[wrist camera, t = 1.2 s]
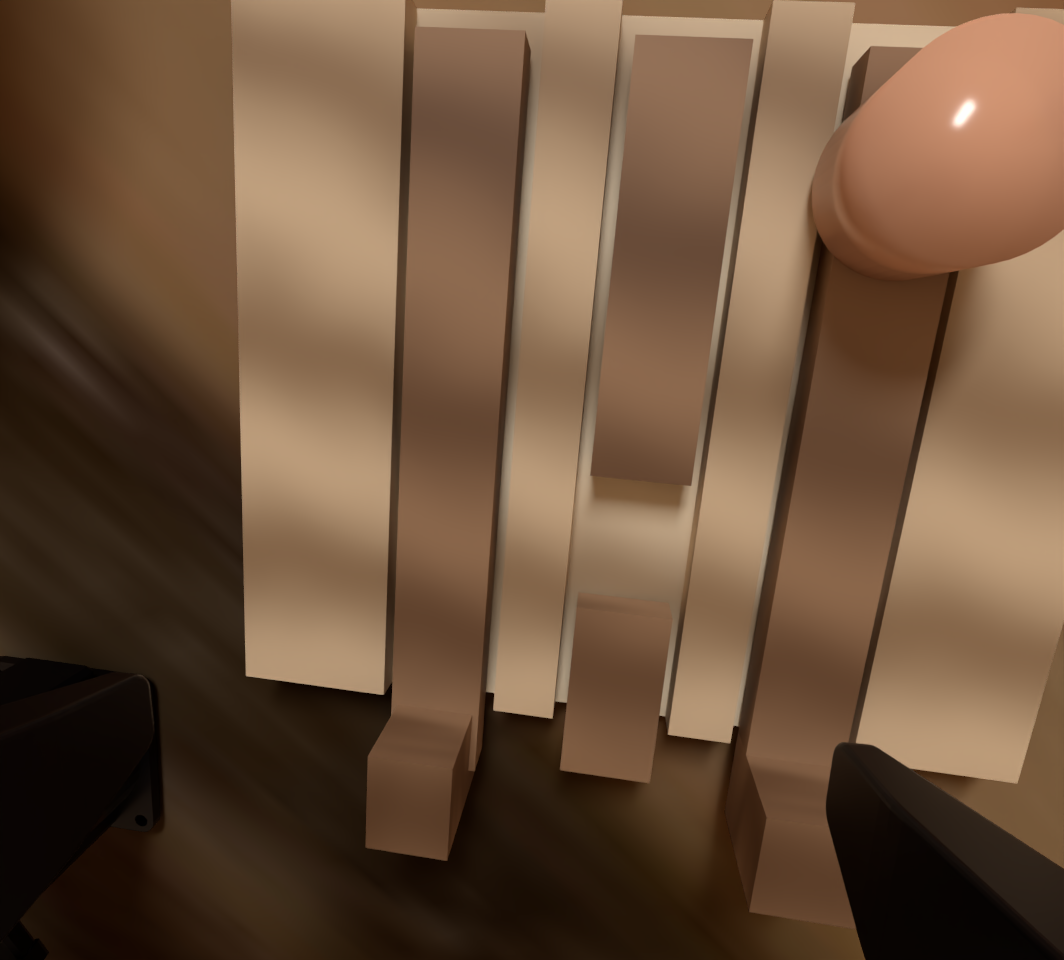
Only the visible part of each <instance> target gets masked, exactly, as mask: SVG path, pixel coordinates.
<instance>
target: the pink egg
mask: <svg viewBox="0 0 1064 960" xmlns="http://www.w3.org/2000/svg"><path fill="white" fill-rule="evenodd" d="M812 210H813V216H814V220H815V224H816V227H817V230H818V232H819V234H820V237H821V239H822V241H823V242H824V244H825V245H826V247H827V248H828V250H829V251H830V252H831V253H832V254H833V256H835V258H836V259H838V260H839V261H840V262H841V263H842V264H843V265H845V266H846V267H848V268H849V269H851V270H853V271H854V272H856V273H859V274H861V275H863V276H866V277H869V278H873V279H877V280H884V281H905V280H913V279H918V278H923V277H928V276H933V275H938V274H943V273H948V272H954V271H959V270H964V269H969V268H974V267H979V266H984V265H989V264H994V263H998V262H1002V261H1006V260H1010V259H1013V258H1016V257H1018V256H1021V255H1024V254H1026V253H1028V252H1030V251H1032V250H1034V249H1036V248H1038V247H1040V246H1041V245H1043V244H1044V243H1046V242H1047V241H1049V240H1051V239H1052V238H1054V237H1055V236H1056V235H1058V234H1059V233H1060V232H1061V231H1062V230H1064V25H1063V24H1061V23H1059V22H1056V21H1054V20H1052V19H1049V18H1045V17H1041V16H1037V15H1031V14H1021V13H1010V14H997V15H992V16H986V17H982V18H979V19H975V20H972V21H969V22H966V23H964V24H962V25H959V26H957V27H955V28H953V29H951V30H949V31H947V32H946V33H944V34H942V35H941V36H939V37H937V38H936V39H934V40H933V41H932V42H930V43H929V44H928V45H926V46H925V47H924V48H922V49H921V50H920V51H919V52H918V53H917V54H916V55H915V56H914V57H913V58H911V59H910V60H909V61H908V62H907V63H906V64H905V65H904V66H903V67H902V68H901V69H900V70H898V71H897V72H896V73H895V74H894V75H893V76H892V77H891V78H890V79H889V80H888V81H887V82H886V83H884V84H883V85H882V86H881V87H880V88H879V89H878V90H877V91H876V92H875V93H874V94H873V95H871V96H870V97H869V98H868V99H867V100H866V101H865V102H864V103H863V104H862V105H861V106H860V107H859V108H857V109H856V110H855V111H854V112H853V113H852V114H851V115H850V116H849V117H848V118H847V119H846V120H845V121H844V122H843V123H842V124H841V125H840V126H839V127H838V129H837V130H836V131H835V132H834V133H833V135H832V137H831V138H830V140H829V141H828V143H827V144H826V146H825V148H824V150H823V152H822V154H821V156H820V159H819V161H818V164H817V167H816V170H815V175H814V179H813V186H812Z"/></svg>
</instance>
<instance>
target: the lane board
mask: <svg viewBox="0 0 1064 960" xmlns="http://www.w3.org/2000/svg"><path fill="white" fill-rule="evenodd" d="M854 9H855V3H847V2H815V1H783V0H773V2H772V4H771V6H770V8H769V10H768V12H767V14H766V17H765V19H764V20H740V19H711V18H681V17H652V16H622V10H623V0H546V6H545V13H534V12H504V11H475V10H445V9H417V7H416V6H415V4H414V2H413V1H412V0H231V19H232V64H233V109H234V155H235V200H236V245H237V290H238V335H239V380H240V425H241V471H242V516H243V561H244V606H245V651H246V676H250V677H257V678H265V679H272V680H279V681H286V682H293V683H300V684H308V685H315V686H322V687H329V688H336V689H343V690H351V691H358V692H365V693H372V694H379V695H384V694H385V692H386V691H387V689H388V688H389V686H390V684H391V683H392V679H393V649H394V620H395V591H396V562H397V533H398V504H399V475H400V446H401V417H402V388H403V358H404V329H405V300H406V271H407V242H408V213H409V184H410V155H411V126H412V97H413V67H414V38H415V26H417V27H444V28H471V29H499V30H525V31H526V35H527V38H528V42H529V46H530V50H531V60H530V74H529V88H528V102H527V116H526V130H525V144H524V159H523V173H522V187H521V201H520V215H519V229H518V243H517V257H516V272H515V286H514V300H513V314H512V328H511V342H510V356H509V371H508V385H507V399H506V413H505V427H504V441H503V455H502V470H501V484H500V498H499V512H498V526H497V540H496V554H495V568H494V583H493V597H492V611H491V625H490V639H489V653H488V667H487V682H486V692H491V693H494V707H493V710H494V711H501V712H508V713H516V714H523V715H530V716H537V717H544V718H552V719H553V712H554V705H555V701H557V702H564V703H567V707H566V716H565V726H564V736H563V745H562V755H561V765H560V770H562V771H569V772H576V773H583V774H589V775H596V776H603V777H610V778H617V779H624V780H630V781H637V782H644V783H650V779H651V771H652V764H653V757H654V750H655V743H656V735H657V728H658V721H659V716H665V719H666V726H667V732H668V735H674V736H681V737H688V738H695V739H702V740H709V741H717V742H724V743H730V742H731V736H732V731H733V726H739V724H740V718H741V712H742V706H743V701H744V695H745V689H746V683H747V677H748V671H749V666H750V660H751V654H752V648H753V642H754V636H755V631H756V625H757V619H758V613H759V607H760V601H761V595H762V590H763V584H764V578H765V572H766V566H767V560H768V555H769V549H770V543H771V537H772V531H773V525H774V520H775V514H776V508H777V502H778V496H779V490H780V485H781V479H782V473H783V467H784V461H785V455H786V450H787V444H788V438H789V432H790V426H791V420H792V415H793V409H794V403H795V397H796V391H797V385H798V380H799V374H800V368H801V362H802V356H803V350H804V345H805V339H806V333H807V327H808V321H809V315H810V309H811V304H812V298H813V292H814V286H815V280H816V274H817V269H818V263H819V257H820V251H821V245H822V239H821V237H820V234H819V232H818V230H817V227H816V224H815V220H814V216H813V210H812V186H813V179H814V175H815V170H816V167H817V164H818V161H819V159H820V156H821V154H822V152H823V150H824V148H825V146H826V144H827V143H828V141H829V140H830V138H831V137H832V135H833V133H834V132H835V131H836V130H837V129H838V127H839V126H840V125H841V124H842V123H843V117H844V111H845V105H846V99H847V94H848V88H849V82H850V76H851V70H852V66H853V65H854V64H855V63H856V62H857V61H858V60H859V59H860V58H861V56H862V55H863V54H864V53H865V52H866V51H867V50H868V49H869V48H870V46H886V47H913V48H924V47H925V46H926V45H928V44H929V43H930V42H932V41H933V40H934V39H936V38H937V37H939V36H941V35H942V34H944V33H946V32H947V31H949V30H951V29H953V28H955V27H947V26H917V25H888V24H858V23H852V21H853V15H854ZM1011 13H1021V14H1031V15H1037V16H1041V17H1045V18H1049V19H1052V20H1054V21H1056V22H1059V23H1061V24H1063V25H1064V9H1041V8H1016V9H1014V10H1013V11H1012V12H1011ZM1009 14H1010V13H1009ZM1063 622H1064V230H1062V231H1061V232H1060V233H1059V234H1058V235H1056V236H1055V237H1054V238H1052V239H1051V240H1049V241H1047V242H1046V243H1044V244H1043V245H1041V246H1040V247H1038V248H1036V249H1034V250H1032V251H1030V252H1028V253H1026V254H1024V255H1021V256H1018V257H1016V258H1013V259H1010V260H1006V261H1002V262H998V263H994V264H989V265H984V266H979V267H974V268H969V269H964V270H959V271H954V272H950V273H949V277H948V282H947V286H946V291H945V296H944V300H943V305H942V310H941V314H940V319H939V324H938V328H937V333H936V337H935V342H934V347H933V351H932V356H931V361H930V365H929V370H928V375H927V379H926V384H925V388H924V393H923V398H922V402H921V407H920V412H919V416H918V421H917V426H916V430H915V435H914V440H913V444H912V449H911V453H910V458H909V463H908V467H907V472H906V477H905V481H904V486H903V491H902V495H901V500H900V504H899V509H898V514H897V518H896V523H895V528H894V532H893V537H892V542H891V546H890V551H889V555H888V560H887V565H886V569H885V574H884V579H883V583H882V588H881V593H880V597H879V602H878V606H877V611H876V616H875V620H874V625H873V630H872V634H871V639H870V644H869V648H868V653H867V658H866V662H865V667H864V671H863V676H862V681H861V685H860V690H859V695H858V699H857V704H856V709H855V713H854V718H853V722H852V727H851V732H850V736H849V741H848V742H849V743H860V744H870V745H873V746H876V747H878V748H879V749H881V750H882V751H884V752H885V753H887V754H888V755H890V756H891V757H893V758H894V759H896V760H897V761H899V762H901V763H902V764H904V765H905V766H907V767H908V768H910V769H918V770H925V771H932V772H939V773H946V774H953V775H961V776H968V777H975V778H982V779H989V780H996V781H1004V782H1011V783H1018V779H1019V776H1020V772H1021V769H1022V765H1023V762H1024V758H1025V755H1026V751H1027V748H1028V744H1029V741H1030V737H1031V734H1032V730H1033V727H1034V723H1035V720H1036V716H1037V713H1038V710H1039V706H1040V703H1041V699H1042V696H1043V692H1044V689H1045V685H1046V682H1047V678H1048V675H1049V671H1050V668H1051V664H1052V661H1053V657H1054V654H1055V650H1056V647H1057V643H1058V640H1059V636H1060V633H1061V629H1062V626H1063Z"/></svg>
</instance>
